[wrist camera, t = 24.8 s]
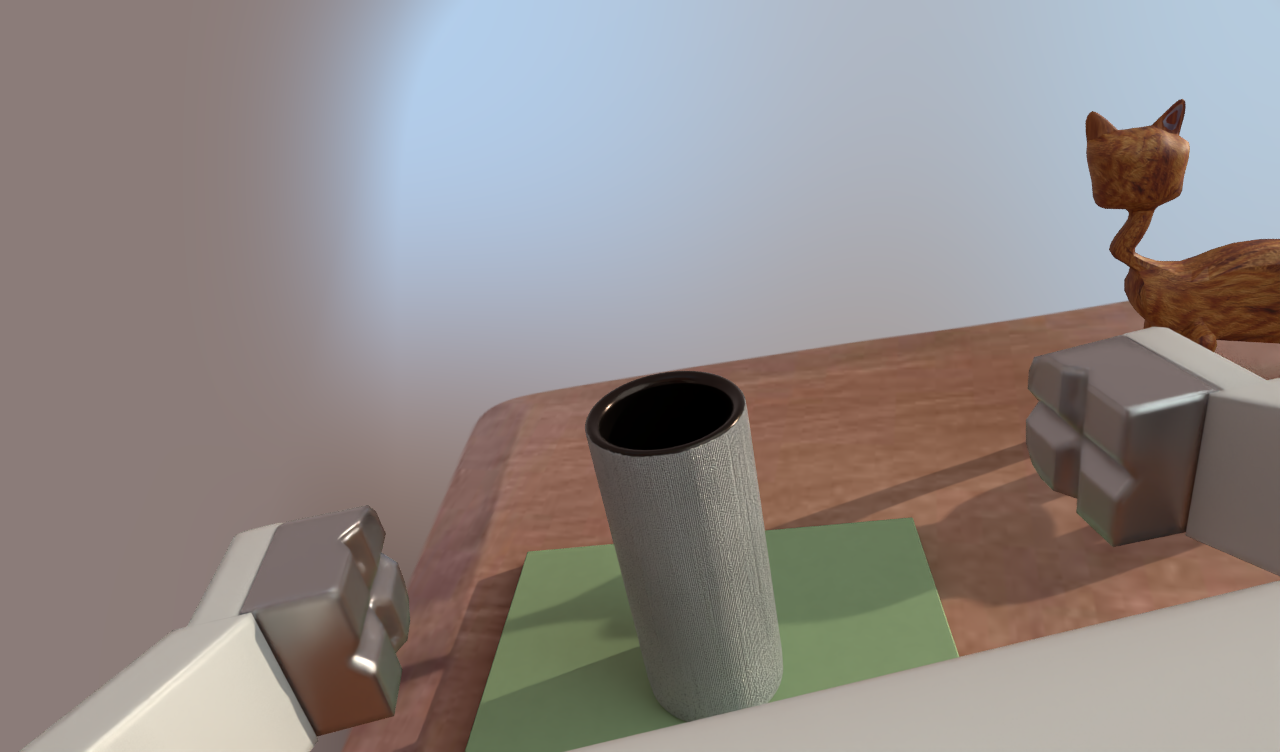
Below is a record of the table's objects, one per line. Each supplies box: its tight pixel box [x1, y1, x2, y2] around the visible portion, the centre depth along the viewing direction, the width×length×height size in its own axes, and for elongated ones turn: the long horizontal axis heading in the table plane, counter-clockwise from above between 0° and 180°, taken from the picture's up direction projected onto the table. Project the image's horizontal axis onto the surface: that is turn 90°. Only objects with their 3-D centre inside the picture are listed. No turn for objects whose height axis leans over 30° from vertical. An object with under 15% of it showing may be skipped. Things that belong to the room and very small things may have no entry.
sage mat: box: [465, 518, 959, 752], centre depth 27 cm, size 16×14×1 cm
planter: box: [585, 371, 783, 722], centre depth 25 cm, size 4×4×10 cm
